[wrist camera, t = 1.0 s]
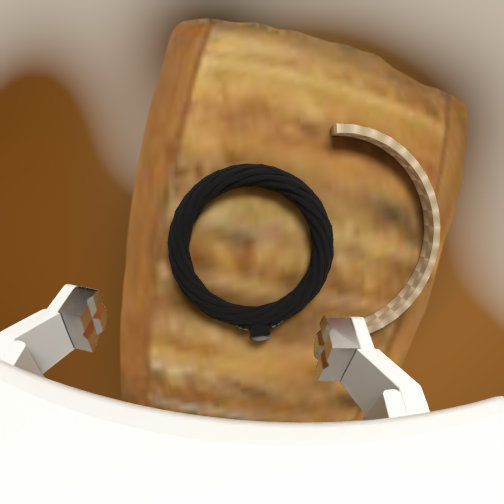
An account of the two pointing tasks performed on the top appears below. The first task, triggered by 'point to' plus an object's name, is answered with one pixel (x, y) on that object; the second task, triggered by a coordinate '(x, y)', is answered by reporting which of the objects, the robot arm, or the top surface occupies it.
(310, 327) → the top surface
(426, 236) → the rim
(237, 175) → the cable lock
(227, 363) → the top surface
